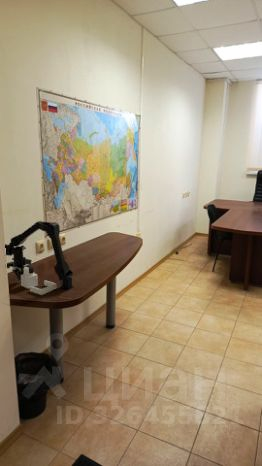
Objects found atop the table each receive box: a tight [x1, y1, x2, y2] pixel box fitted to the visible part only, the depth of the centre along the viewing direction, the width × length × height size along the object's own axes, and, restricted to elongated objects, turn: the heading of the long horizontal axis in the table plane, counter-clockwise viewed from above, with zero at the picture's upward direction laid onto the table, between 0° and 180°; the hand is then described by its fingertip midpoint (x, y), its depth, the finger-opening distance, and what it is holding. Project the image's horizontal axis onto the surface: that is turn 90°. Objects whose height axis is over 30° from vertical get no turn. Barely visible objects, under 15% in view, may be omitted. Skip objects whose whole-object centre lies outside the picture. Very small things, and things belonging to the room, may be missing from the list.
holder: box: [29, 279, 57, 296], centre depth 184 cm, size 9×12×3 cm
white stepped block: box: [20, 265, 39, 290], centre depth 189 cm, size 7×7×12 cm
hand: (20, 280), depth 195 cm, fingers closed
